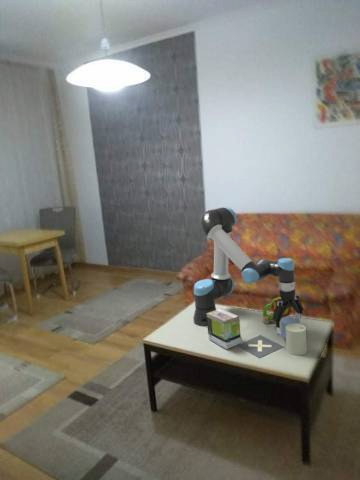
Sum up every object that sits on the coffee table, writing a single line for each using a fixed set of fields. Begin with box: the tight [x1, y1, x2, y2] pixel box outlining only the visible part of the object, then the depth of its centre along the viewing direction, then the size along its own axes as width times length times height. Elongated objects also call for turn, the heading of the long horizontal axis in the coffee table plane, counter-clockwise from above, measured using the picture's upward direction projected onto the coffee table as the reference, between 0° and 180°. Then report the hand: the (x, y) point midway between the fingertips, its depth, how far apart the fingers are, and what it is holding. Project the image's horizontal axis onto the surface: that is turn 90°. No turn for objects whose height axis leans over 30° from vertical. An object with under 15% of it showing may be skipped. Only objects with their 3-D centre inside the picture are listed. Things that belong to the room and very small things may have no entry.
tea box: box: [206, 308, 242, 350], centre depth 183 cm, size 15×10×15 cm, turn 32°
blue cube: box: [276, 315, 301, 339], centre depth 184 cm, size 8×8×8 cm
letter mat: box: [236, 334, 285, 359], centre depth 176 cm, size 16×16×1 cm
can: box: [285, 323, 308, 356], centre depth 168 cm, size 9×9×12 cm
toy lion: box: [262, 296, 294, 325], centre depth 197 cm, size 16×5×15 cm, turn 63°
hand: (288, 328), depth 184 cm, fingers open, 13 cm apart
